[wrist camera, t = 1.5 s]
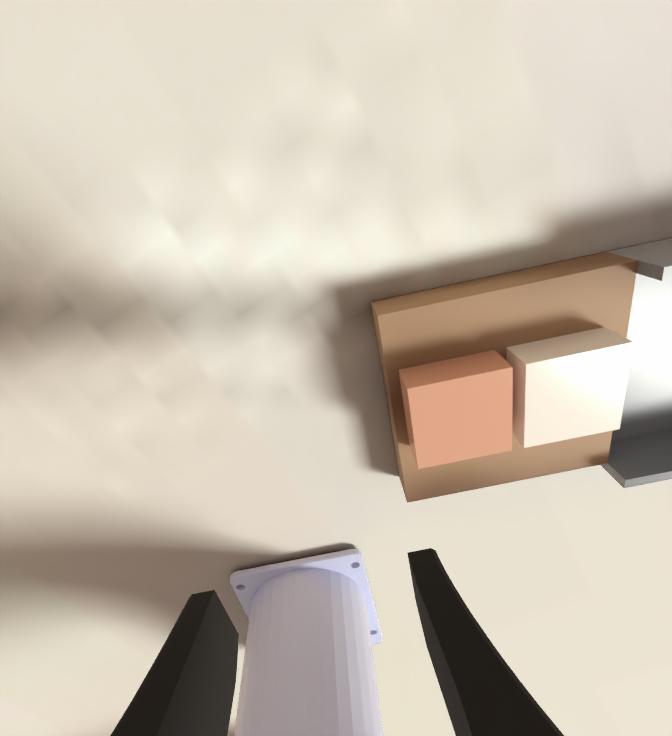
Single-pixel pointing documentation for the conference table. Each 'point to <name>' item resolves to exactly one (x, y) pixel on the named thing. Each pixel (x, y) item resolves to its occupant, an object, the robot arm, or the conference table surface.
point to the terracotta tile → (458, 408)
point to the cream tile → (569, 385)
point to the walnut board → (497, 332)
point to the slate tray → (647, 373)
